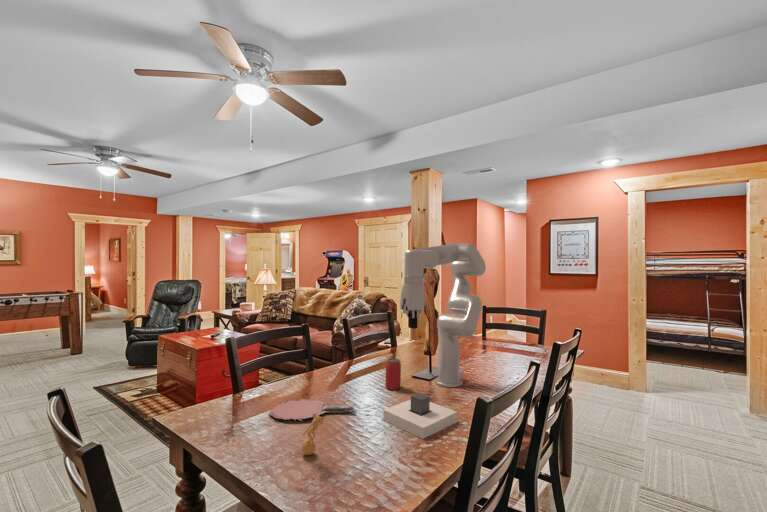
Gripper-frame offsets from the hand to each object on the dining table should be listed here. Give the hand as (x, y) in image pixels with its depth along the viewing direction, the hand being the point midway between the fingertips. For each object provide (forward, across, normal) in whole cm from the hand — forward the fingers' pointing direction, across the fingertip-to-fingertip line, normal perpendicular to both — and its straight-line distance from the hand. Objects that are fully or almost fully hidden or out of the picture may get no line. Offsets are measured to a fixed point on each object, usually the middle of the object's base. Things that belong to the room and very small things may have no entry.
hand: (412, 327), depth 142 cm
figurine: (+29, +50, +7) cm, 58 cm away
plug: (+29, +10, +13) cm, 33 cm away
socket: (+29, +10, +13) cm, 33 cm away
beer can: (+29, -6, -16) cm, 34 cm away
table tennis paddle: (+30, +34, -18) cm, 49 cm away
